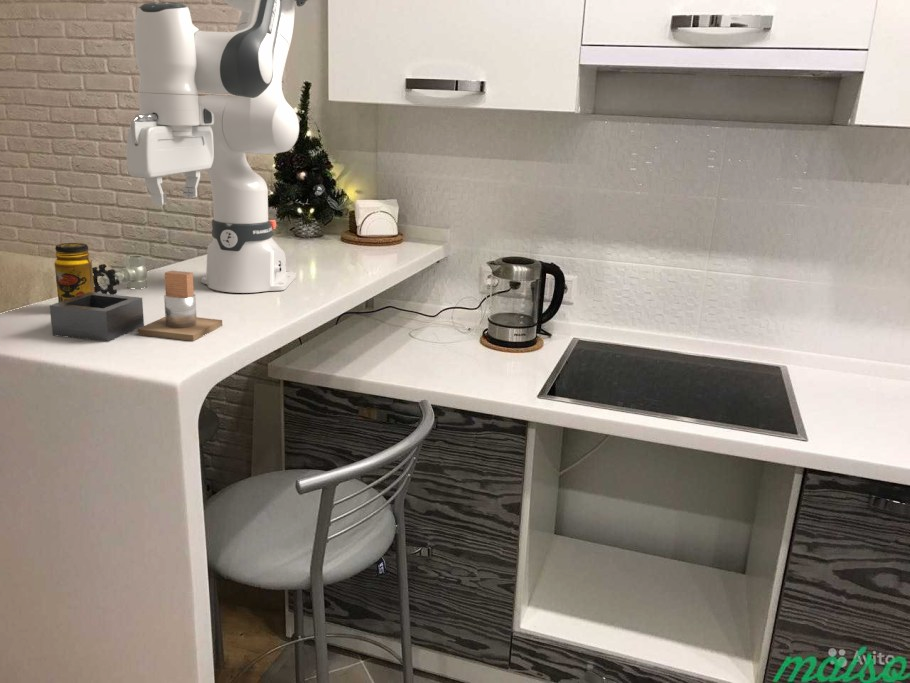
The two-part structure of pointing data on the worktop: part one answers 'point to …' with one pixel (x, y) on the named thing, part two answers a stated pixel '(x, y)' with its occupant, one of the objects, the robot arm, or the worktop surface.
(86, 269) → the condiment
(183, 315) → the plug
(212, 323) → the board
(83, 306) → the housing
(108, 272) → the valve
